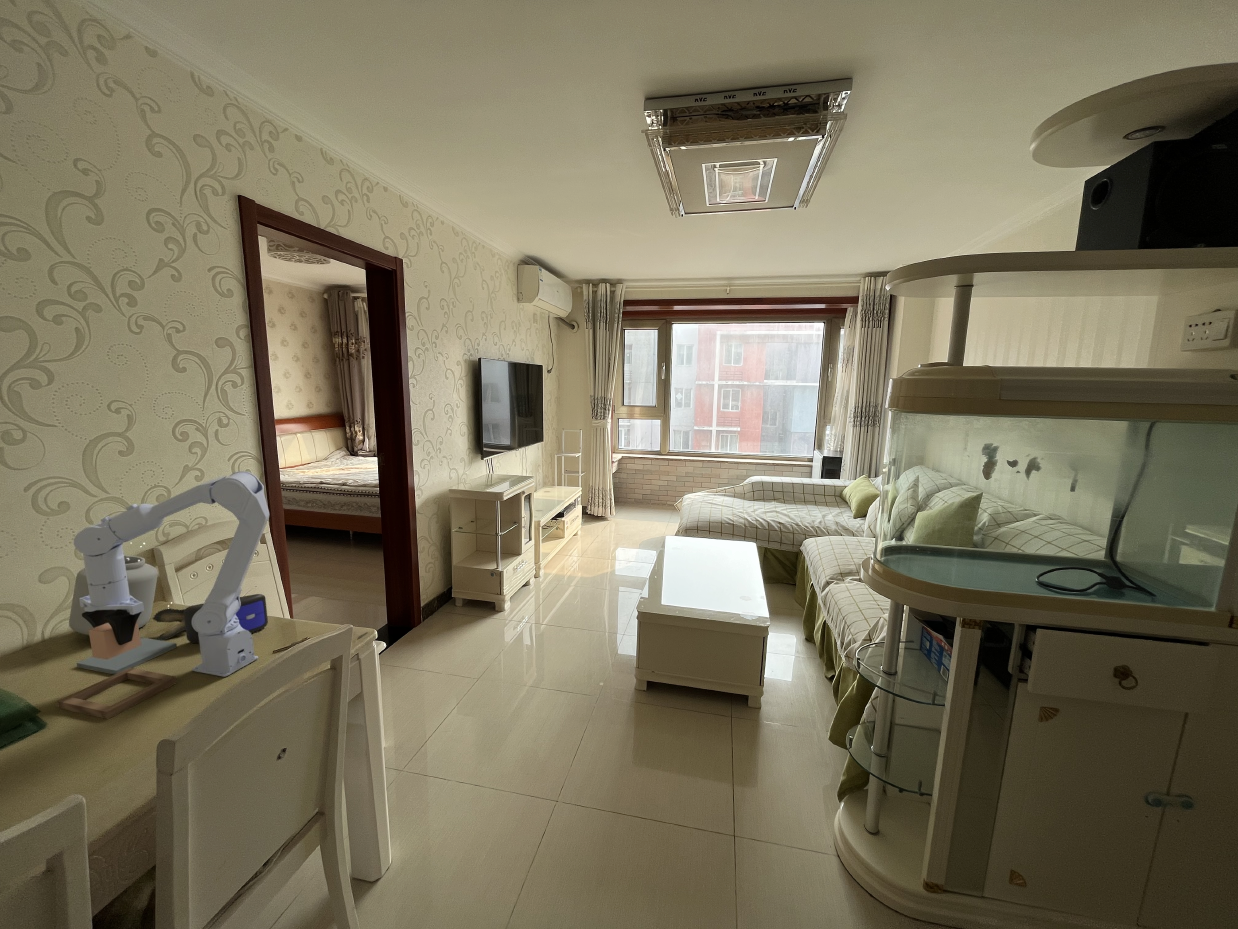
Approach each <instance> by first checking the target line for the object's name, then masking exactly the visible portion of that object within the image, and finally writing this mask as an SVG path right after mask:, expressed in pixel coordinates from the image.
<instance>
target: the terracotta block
mask: <svg viewBox="0 0 1238 929" xmlns="http://www.w3.org/2000/svg"><path fill="white" fill-rule="evenodd" d="M88 636H89V641H90V646H91V652H92V656H93V657H95V658H101V659H107V660H108V659H111V658H113V657H115V656H117V655H120V654H122V653H124V652H126V651H129V650H131V649H133V648H136V647H138V646H140V645H141V640H140V637H141V635H140V629H139V627H138V620H137V622H136V625H135V629H134V633H133V638H132V641H130V642H128V643H125V644H123V645H119V644H118V643H117V641H116V638H115V635H114V632H113V629H112V627H111V626H110V624H109V623H106V624H103V625H101V626H98V627H95V628H93V629H90V630H89V635H88Z"/></svg>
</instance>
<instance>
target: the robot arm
mask: <svg viewBox="0 0 1238 929" xmlns="http://www.w3.org/2000/svg"><path fill="white" fill-rule="evenodd" d="M215 503H216V504H218V505H219V506H221V507H222V508H224V509H226V510H227V511H228V512H230V513H232V514H233V515H234V517H235V518H236V519H237V520H238V521H239V523H238V526H237V527H236V530H235V532H234V534H233V538H232V539H231V542H230V545H229V547H228V550H227V552H226V554H225V556H224V560H223V562H222V563H221V564H222V565H221V567H220V569H219V571H218V574H217V577H216V579H215V582H214V585H213V587H212V589H211V590H210V592H209V594H208V595H207V597H206V599H204V600H205V601H204V603H203V604H204V605H203V607H202V608H201V609H200V610H198V611H197V612H196V613H195V614H194V616H193V618H192V627H193V628H194V630H195V631H197V632H198V635H199V643H198V644H199V651H200V656H201V663H200V664H198V665H197V666H194V667H193V668H192V669H191V671H193V672H196V673H201V674H207V675H212V676H217V677H218V676H219V677H223V678H224V677H228V676H230V675H232V674H233V673H235V672H236V671H239V670H240V669H241V668H244V667H245V666H247V665H249V664H250V663H252V662H255V661H256V660H258V659H259V656H258V655H255V649H254V648H255V647H254V640H253V635H252V633H250V632H249V631H247V630H245V629H243V628H242V627H241V626H240V624H239V620H238V618H237V616H236V613H237V612H238V610H239V609H240V605H241V602H240V597H241V593H242V592H243V590H242V585H243V583H244V580H245V578H246V575H247V573H248V570H249V568H250V565H251V563H252V560H253V558H254V557H255V554H256V550H257V548H258V546H259V544H260V541H261V538H262V536H263V535H264V534H263V533H264V532H265V529H266V526H267V524H268V521H269V519H270V511H269V507H268V503H267V499H266V495H265V485H264V484H263V483H262V481H260V479H259V478H258V476H256V475H255V474H253V473H252V472H249V471H245V470H241V471H240V470H238V471H236V472H233V473H231V474H229V476H227V475H224V476H221V477H220V476H219V477H217V478H215V479H211V480H208V481H205V482H203V483H200V484H198V485H196V486H193V487H192V488H190V489H189V488H188V489H187V490H185V491H183V492H180V493H179V494H176V495H175V496H173V497H170V498H167V499H165V500H163V501H162V502H160V503H157V504H149V503H141V504H137V503H134V504H131V505H129V506H126V507H125V509H126V510H125V511H122V512H119V513H118V514H115V515H113V516H111V517H110V516H109V515H108V516H106V517H103V518H101V519H100V521H99V522H98V523H96V524H93V525H90V526H87V527H85V528H83V529H82V530H80V531H78V533H76V535H75V536H74V538H73V546H74V548H75V549H76V550H77V551H78V552H79V553H80V554H82V556H83V563H84V568H85V570H86V577H87V583H88V589H89V595H88V596H85V597H82V598H79V601H80V607H85V608H84V609H85V611H87V612H84V613H82V617H83V618H85V619H86V620H87V621H88V622H89V623H90V624H91V625H92V626H93V628H95V627H98V626H101V625H103V624H106V623H109V624H110V626H111V627H112V629H113V632H114V635H115V638H116V641H117V643H118V644H119V645H123V644H125V643H128V642H130V641H132V638H133V633H134V629H135V625H136V622H137V620H138V617H139V616H140V614H141V612H142V611H144V606H143V602H140V601H138V600H136V599H135V598H134V597H132V596H131V595H130V594H129V587H128V580H127V573H126V567H125V560H124V556H125V554H124V548H123V547H124V546H123V545H124V543H127V542H129V541H132V540H134V539H137V538H138V537H140V536H143V535H146V534H147V533H149V532H152V531H153V530H156V529H158V528H160V527H162V525H163V523H164V520H165V518H167V517H170V516H172V515H174V514H177V513H179V512H181V511H184V510H186V509H189V508H190V507H193V506H196V505H197V504H207V505H214V504H215Z"/></svg>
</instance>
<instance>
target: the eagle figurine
mask: <svg viewBox="0 0 1238 929" xmlns="http://www.w3.org/2000/svg"><path fill="white" fill-rule="evenodd" d="M168 608H169V609H168ZM168 608H164V609H162V610H158V611H157V613H155V614H154V615H153V617H152V620H153V621H156V622H157V623H177V622H179V623H177V624H175V625H174V626H172V627H169V629H167V630H166V631H165V632H163V633H161V634H159V635H158V637H157V638H156V640H160V641H165V640H168V639H170V638H172V637H174V636H175V635H177V634H179V633H181V632H182V631H186V628H185V620H184V610H185V609H186V608H183V609H178V608H177V609H176V608H175V609H174V608H170V607H168Z"/></svg>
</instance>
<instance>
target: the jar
mask: <svg viewBox="0 0 1238 929" xmlns="http://www.w3.org/2000/svg"><path fill="white" fill-rule="evenodd" d="M129 544H133V543H132V542H130V543H129ZM143 545H146V543H145V542H143ZM139 548H142V545H141V546H140V547H139ZM124 560H125V567H126V573H127V580H128V587H129V594H130V595H131V596H132V597H134V598H135V599H136V600H138V601H140V602H143V606H144V611H142V612H141V614H140V616H139V617H138V627H139V628H142V627H143V626H145V625H146V624H147V623H149V621H150V620H151V617H152V614H153V607H154V599H155V594H156V588H157V581H158V574H159V571H158V570H157V568H156V567H155V566H153V565H151V564H149V563H146V558H144V557H141V556H135V555H124ZM88 595H89V589H88V583H87V577H86V570H85V567H84V568H82V569H80V570H79V571H78V572H77V574H76V576H75V581H74V590H73V596H72V600H71V607H70V614H69V619H68V626H69V627H70V629H71V630H72V631H73V632H76V633H79V634H81V635H86V636H89V630H90V629H93V626H92V625H91V624H90V623H89V622H88V621H87V620H86V619H85V618H83V617H82V613H84V612H87V611H85V609H84V608H85V607H80V601H79V598H82V597H85V596H88ZM170 604H173V602H171V601H170ZM167 607H168V609H169V608H170V605H167Z"/></svg>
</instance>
